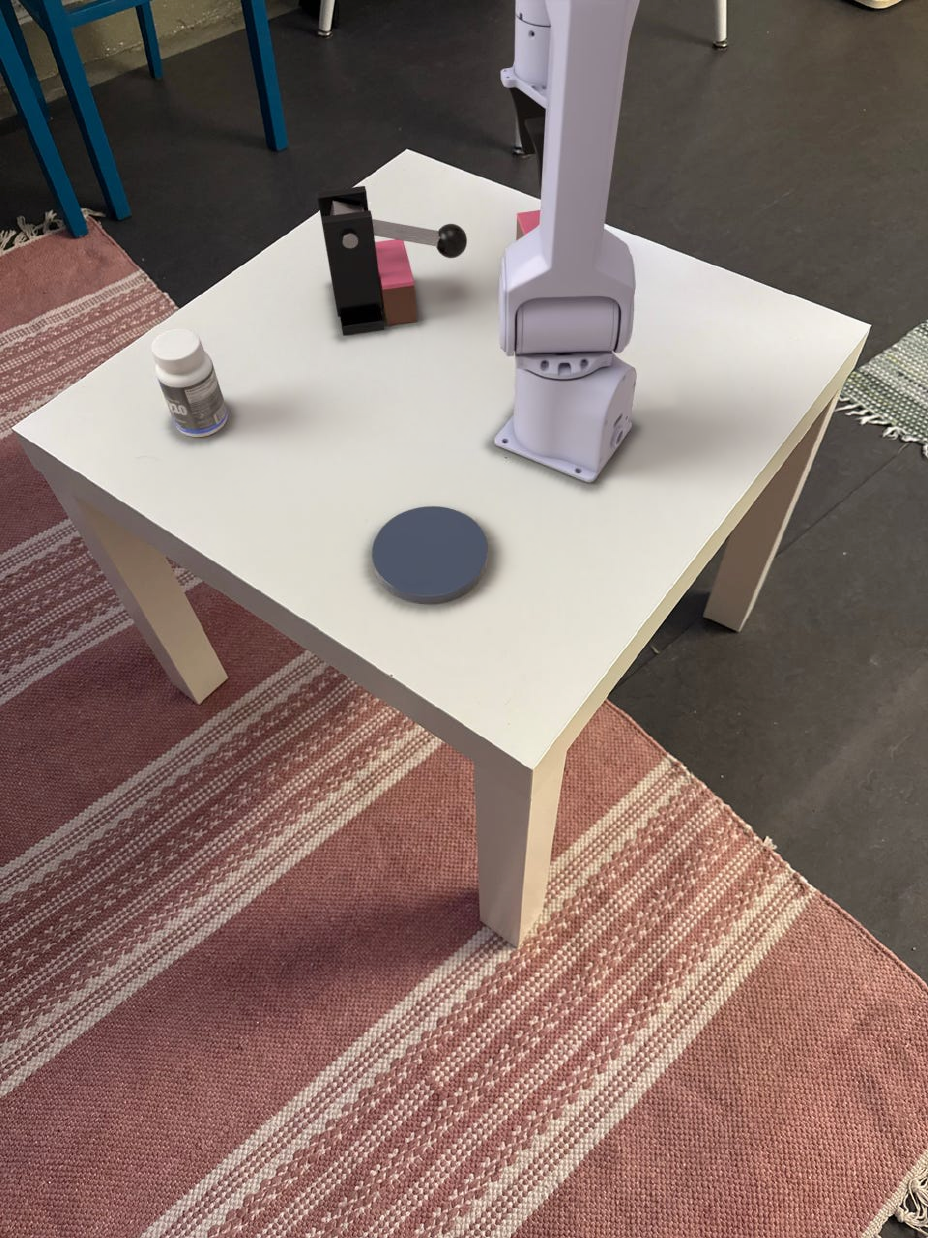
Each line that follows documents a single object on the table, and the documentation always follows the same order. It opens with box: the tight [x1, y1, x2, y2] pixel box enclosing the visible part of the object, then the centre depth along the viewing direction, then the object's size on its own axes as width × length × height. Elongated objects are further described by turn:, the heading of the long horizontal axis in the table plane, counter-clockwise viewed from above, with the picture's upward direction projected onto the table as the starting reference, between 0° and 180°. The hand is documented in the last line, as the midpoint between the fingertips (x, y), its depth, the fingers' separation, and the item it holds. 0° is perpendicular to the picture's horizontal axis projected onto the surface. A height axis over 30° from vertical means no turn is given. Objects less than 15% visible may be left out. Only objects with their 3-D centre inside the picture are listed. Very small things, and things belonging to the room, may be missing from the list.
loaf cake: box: [375, 239, 418, 327], centre depth 89 cm, size 3×7×4 cm, turn 11°
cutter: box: [330, 201, 468, 259], centre depth 84 cm, size 13×3×3 cm, turn 101°
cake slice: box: [515, 209, 540, 241], centre depth 92 cm, size 4×4×4 cm
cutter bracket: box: [316, 185, 385, 336], centre depth 86 cm, size 4×8×11 cm, turn 11°
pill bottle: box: [150, 328, 229, 438], centre depth 78 cm, size 5×5×8 cm
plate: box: [371, 505, 489, 605], centre depth 71 cm, size 9×9×1 cm
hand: (543, 173), depth 86 cm, fingers open, 7 cm apart
